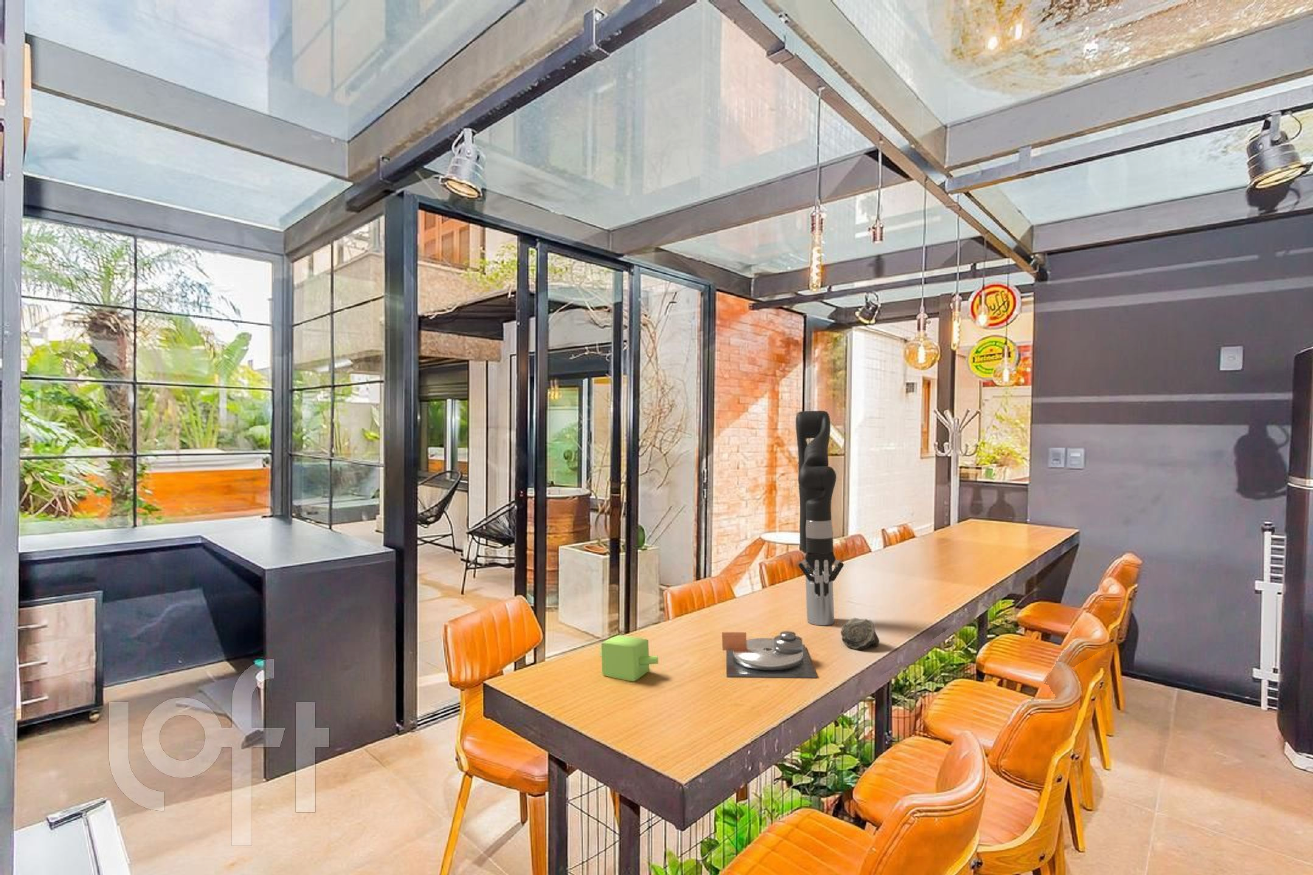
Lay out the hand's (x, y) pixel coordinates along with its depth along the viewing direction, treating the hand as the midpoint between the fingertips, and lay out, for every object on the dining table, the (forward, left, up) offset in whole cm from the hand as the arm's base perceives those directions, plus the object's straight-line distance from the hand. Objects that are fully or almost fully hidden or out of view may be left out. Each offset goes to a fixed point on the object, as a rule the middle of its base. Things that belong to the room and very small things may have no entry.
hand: (821, 595), depth 170 cm
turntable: (0, -17, -18) cm, 25 cm away
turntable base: (0, -16, -19) cm, 25 cm away
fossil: (-14, +13, -19) cm, 27 cm away
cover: (0, -10, -16) cm, 19 cm away
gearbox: (+10, -55, -19) cm, 59 cm away
